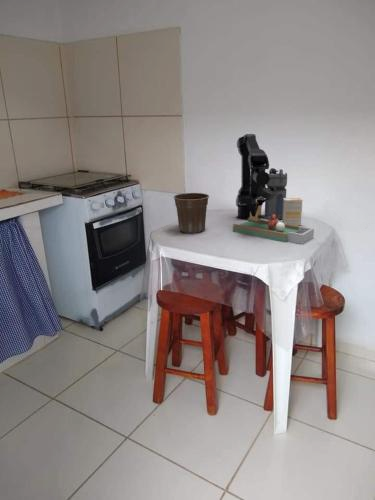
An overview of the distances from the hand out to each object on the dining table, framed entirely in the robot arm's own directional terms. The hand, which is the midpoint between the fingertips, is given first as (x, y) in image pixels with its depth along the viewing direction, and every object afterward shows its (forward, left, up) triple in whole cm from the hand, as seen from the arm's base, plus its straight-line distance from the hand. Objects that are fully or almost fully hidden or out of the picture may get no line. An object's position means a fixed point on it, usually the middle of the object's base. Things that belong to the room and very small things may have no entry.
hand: (255, 215), depth 179 cm
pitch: (+9, 0, -7) cm, 11 cm away
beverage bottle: (-4, +26, -7) cm, 27 cm away
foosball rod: (+4, 0, -4) cm, 6 cm away
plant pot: (-24, -16, -7) cm, 30 cm away
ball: (+13, 0, -3) cm, 13 cm away
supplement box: (+10, +17, -7) cm, 21 cm away
